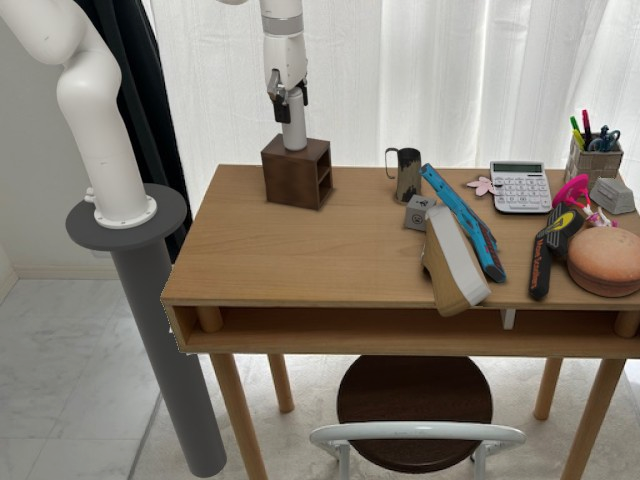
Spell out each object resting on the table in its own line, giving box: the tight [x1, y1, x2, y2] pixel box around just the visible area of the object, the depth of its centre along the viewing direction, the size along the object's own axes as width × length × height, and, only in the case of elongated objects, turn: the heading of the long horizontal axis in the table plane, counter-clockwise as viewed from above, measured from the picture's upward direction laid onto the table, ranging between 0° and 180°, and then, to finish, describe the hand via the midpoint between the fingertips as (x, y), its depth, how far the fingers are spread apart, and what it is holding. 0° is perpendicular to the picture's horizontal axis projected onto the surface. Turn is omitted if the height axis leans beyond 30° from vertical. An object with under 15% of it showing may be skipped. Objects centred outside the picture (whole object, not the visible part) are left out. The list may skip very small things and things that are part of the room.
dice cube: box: [404, 195, 438, 232], centre depth 128 cm, size 5×5×5 cm
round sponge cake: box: [566, 226, 640, 298], centre depth 116 cm, size 16×16×10 cm
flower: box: [466, 176, 501, 197], centre depth 141 cm, size 10×10×2 cm
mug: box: [384, 147, 423, 206], centre depth 134 cm, size 8×6×12 cm
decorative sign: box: [528, 201, 585, 300], centre depth 119 cm, size 27×2×10 cm
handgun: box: [419, 162, 508, 283], centre depth 115 cm, size 23×3×15 cm
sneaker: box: [420, 200, 492, 318], centre depth 115 cm, size 10×29×10 cm
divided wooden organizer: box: [259, 132, 334, 211], centre depth 134 cm, size 12×9×12 cm
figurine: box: [551, 173, 618, 228], centre depth 129 cm, size 10×10×15 cm
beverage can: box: [278, 86, 308, 151], centre depth 126 cm, size 5×5×12 cm
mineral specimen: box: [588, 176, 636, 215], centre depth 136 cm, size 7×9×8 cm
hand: (292, 113), depth 125 cm, fingers open, 8 cm apart
